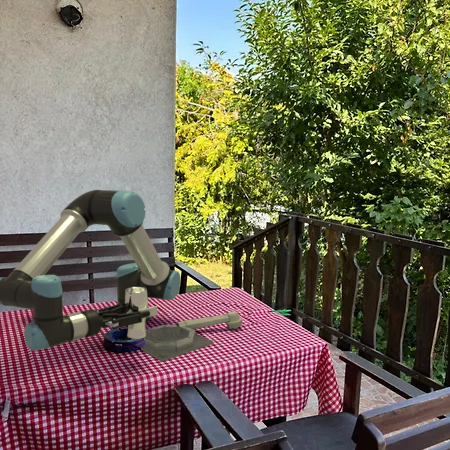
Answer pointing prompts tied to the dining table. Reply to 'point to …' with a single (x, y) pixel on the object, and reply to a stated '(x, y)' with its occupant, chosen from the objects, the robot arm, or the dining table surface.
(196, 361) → the dining table surface
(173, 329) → the collar
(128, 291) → the chrome metal cup
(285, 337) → the dining table surface
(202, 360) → the dining table surface
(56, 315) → the robot arm
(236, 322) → the beige knobbed rod
